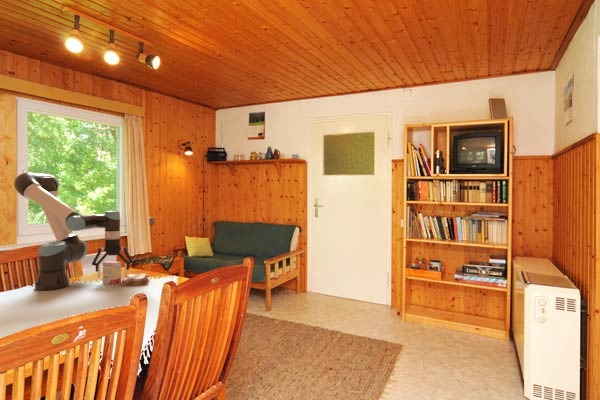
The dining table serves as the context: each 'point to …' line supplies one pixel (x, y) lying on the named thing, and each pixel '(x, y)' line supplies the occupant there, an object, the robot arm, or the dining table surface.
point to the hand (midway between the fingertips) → (112, 276)
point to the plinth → (134, 279)
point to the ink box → (111, 272)
